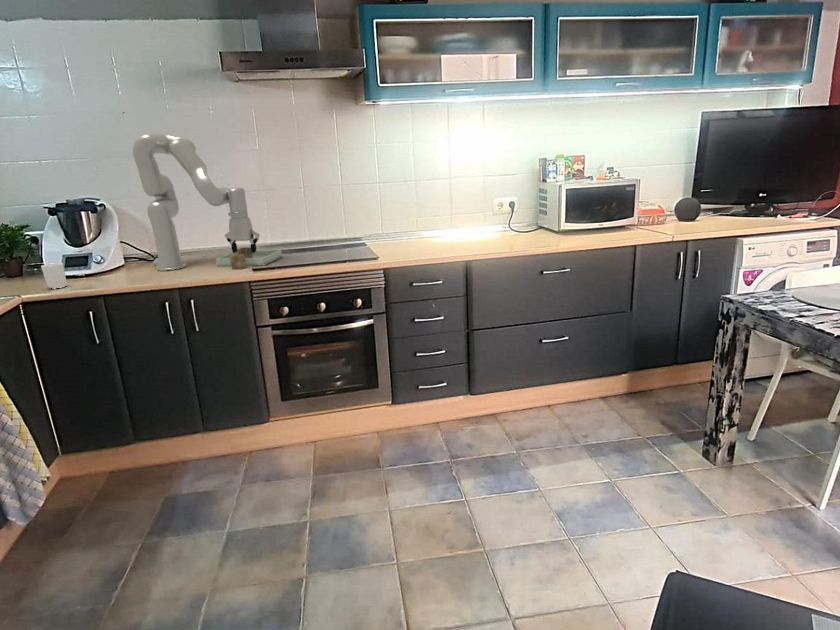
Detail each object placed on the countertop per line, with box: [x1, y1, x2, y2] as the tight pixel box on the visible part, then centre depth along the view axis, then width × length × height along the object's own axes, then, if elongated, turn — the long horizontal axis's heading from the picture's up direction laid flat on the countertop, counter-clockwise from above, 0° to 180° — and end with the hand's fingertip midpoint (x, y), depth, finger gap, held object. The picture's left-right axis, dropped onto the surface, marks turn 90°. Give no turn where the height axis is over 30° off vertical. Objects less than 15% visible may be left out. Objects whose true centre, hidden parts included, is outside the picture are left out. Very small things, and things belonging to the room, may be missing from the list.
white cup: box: [40, 262, 68, 288], centre depth 240 cm, size 8×8×10 cm
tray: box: [215, 250, 283, 267], centre depth 269 cm, size 24×18×4 cm
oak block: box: [230, 254, 247, 271], centre depth 256 cm, size 4×4×6 cm
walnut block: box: [237, 246, 253, 258], centre depth 266 cm, size 4×4×6 cm
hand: (244, 252), depth 265 cm, fingers open, 9 cm apart
